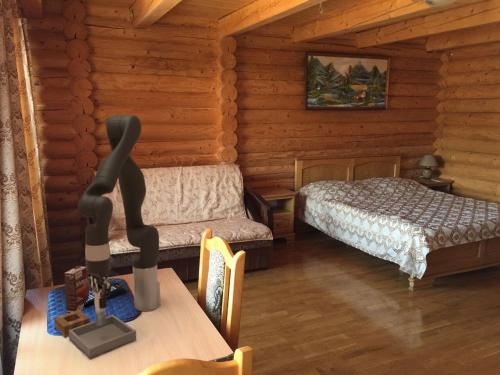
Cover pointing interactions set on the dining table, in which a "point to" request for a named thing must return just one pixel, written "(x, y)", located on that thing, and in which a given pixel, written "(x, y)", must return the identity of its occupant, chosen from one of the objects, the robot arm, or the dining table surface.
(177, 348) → the dining table surface
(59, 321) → the pin holder
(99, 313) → the lock pin
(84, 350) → the tray
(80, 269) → the supplement box
